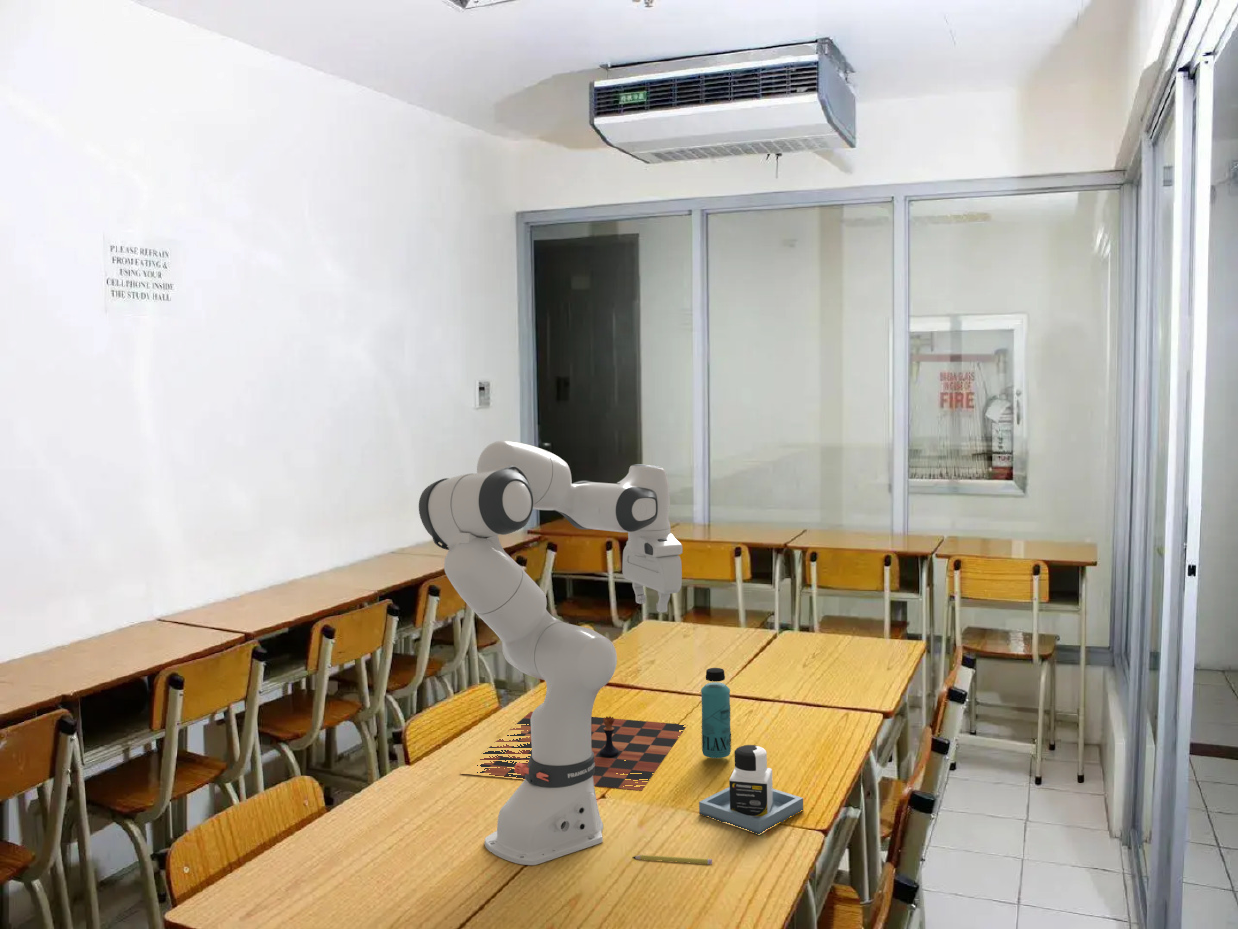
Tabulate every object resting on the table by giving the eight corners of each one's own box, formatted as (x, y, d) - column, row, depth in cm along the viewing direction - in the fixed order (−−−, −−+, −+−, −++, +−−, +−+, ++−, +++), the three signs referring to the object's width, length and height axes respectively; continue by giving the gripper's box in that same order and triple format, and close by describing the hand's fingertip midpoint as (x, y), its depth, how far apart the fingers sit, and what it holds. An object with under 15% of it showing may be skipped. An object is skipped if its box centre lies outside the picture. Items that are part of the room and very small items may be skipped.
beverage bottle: (696, 762, 225) (694, 671, 223) (708, 752, 231) (706, 663, 229) (725, 767, 222) (723, 675, 220) (736, 756, 228) (734, 666, 226)
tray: (759, 835, 189) (758, 822, 189) (699, 814, 199) (699, 801, 199) (803, 810, 199) (803, 798, 199) (744, 791, 209) (744, 779, 209)
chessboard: (460, 776, 223) (459, 726, 222) (530, 715, 261) (529, 672, 260) (641, 795, 211) (641, 742, 210) (687, 729, 249) (686, 683, 248)
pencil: (632, 858, 183) (632, 853, 183) (712, 863, 180) (712, 858, 180) (631, 861, 182) (630, 855, 182) (711, 866, 179) (711, 860, 179)
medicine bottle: (729, 815, 197) (728, 753, 196) (736, 800, 204) (734, 740, 202) (767, 819, 195) (766, 756, 194) (773, 803, 202) (771, 743, 200)
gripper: (614, 536, 225) (616, 600, 226) (658, 550, 207) (660, 619, 208) (640, 533, 228) (642, 596, 229) (686, 547, 209) (688, 615, 211)
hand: (651, 607), depth 218 cm, fingers open, 8 cm apart
